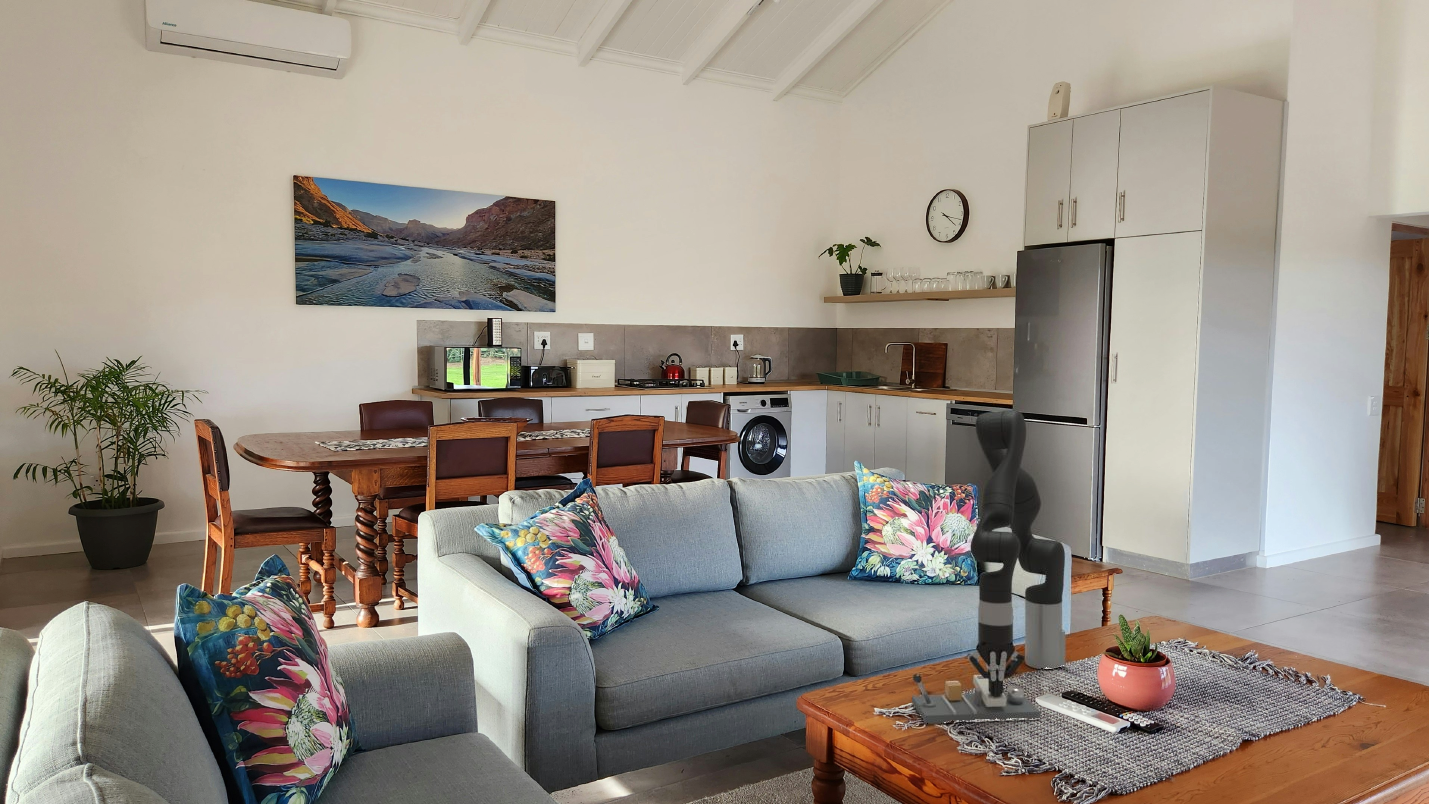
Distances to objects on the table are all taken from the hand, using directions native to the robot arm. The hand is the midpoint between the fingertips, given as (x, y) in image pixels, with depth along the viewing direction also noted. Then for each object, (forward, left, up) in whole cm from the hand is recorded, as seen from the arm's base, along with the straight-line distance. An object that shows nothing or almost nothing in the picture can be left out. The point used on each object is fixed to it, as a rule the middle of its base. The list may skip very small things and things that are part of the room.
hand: (995, 695), depth 212 cm
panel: (+3, -4, -5) cm, 8 cm away
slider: (+7, -7, -3) cm, 11 cm away
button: (-6, -4, -3) cm, 8 cm away
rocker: (0, -4, 0) cm, 5 cm away
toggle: (+14, -4, -3) cm, 15 cm away
